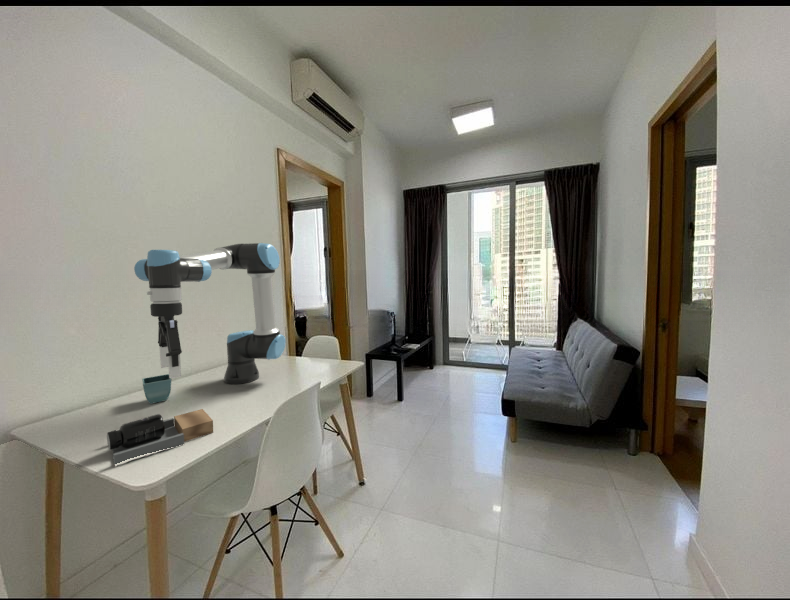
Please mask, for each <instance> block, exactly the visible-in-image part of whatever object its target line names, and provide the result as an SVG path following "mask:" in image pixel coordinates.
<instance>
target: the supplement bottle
mask: <svg viewBox="0 0 790 600" xmlns="http://www.w3.org/2000/svg"><path fill="white" fill-rule="evenodd" d="M163 420H164V418H163V416H162V415H161V414H160V413H157V414H154V415H150V416H147V417H143V418H140V419H136V420H133V421H129V422H126V423H123V424H122V425H120V426H119V429H113V430H111V431H108V432H106V442H107V447H108V450H109V451H112V449H115V448H119V446H122V447H124V448H129V447H132V446H135V445H138V444H141V443H144V442H147V441H150V440H153V439H156V438H159V437H161V436H163V435H164V432H165V427H164V421H163Z"/></svg>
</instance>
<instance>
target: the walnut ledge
mask: <svg viewBox="0 0 790 600" xmlns="http://www.w3.org/2000/svg"><path fill="white" fill-rule="evenodd" d="M173 418H174V426H175V428H176V430H177V431H178V433H179V434H181V433H183V434H184V443H185V442H188V441H191V440H195V439H197V438H200V437H204V436H206V435H210V434H213V433H214V420H213V419H212V417H211V416H209V414H208V413H207V412H206V411H205V410H204V409H203V408H200V409H197V410H193V411H190V412H186V413H181V414H178V415H175V416H174V415H173Z"/></svg>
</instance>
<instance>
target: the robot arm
mask: <svg viewBox="0 0 790 600" xmlns="http://www.w3.org/2000/svg"><path fill="white" fill-rule="evenodd" d="M146 255H147V257H146V258H142V259H139V260H137V262H136V263H135V265H134V268H133V269H134V274H135V276H136V277H137V278H138V279H139V280H140V281H144V282H148V288H149V291H147V292H146V295H148V296H149V302H150V303H151V302H152V303H151V304H149V305H150V307H149V308H150V315H151V316H152V317H154V318H155V317H156V318H157V319H158V323H157V325H158V335H157V336H158V337H157V343H158V346H159V357H160V359H159V362H160V369H165V368H168V374H169V378H171V379H174V378H180V377H182V366H181V354H182V352H183V350H182V348H181V341H180V334H179V327H178V323H179V322H178V320H177V319H176V320H175V316H181V315H182V314H183V304H182V303H181V301H182V300H183V299H182V297H183V296H182V285H181V283H184V282H189V283H191V282H193V283H194V282H195V283H197V282H198V283H200V282H205V281H207V280H208V279H210V277H211V276H212V271H214V270H217V269H218V270H225V271H226V270H229V269H230V270H246V272H247V274H246V275H248V276H250V279H251V287H252V299H253V300H252V301H253V308H254V320H255V321H254V322H255V329H254V330H253V329H250V330H242V331H237V332H232V333H229V334H228V336H227V337H226V351H227V352H226V353H227V355H226V356H227V366H226V370H225V372H224V373H225V374H224V376H223V382H224V383H225V384H228V385H229V384H231V385H236V384H237V385H241V384H246V383H250V382H254V381H256V380H258V379H259V378H260V371H259V369H258V367H257V364H256V361H255V360H256V359H258V360H268V361H269V360H277V359H279V358H280V357H281V356H282V355H283V353H284V351H285V348H286V343H287V342H286V337H285V336H284V335H283V334H281V332H280V331H281V330H280V328H278V326H277V323H276V311H275V300H274V287H273V276H274V275H275V274H276V270H277V269H278V268H279V266H280V256H279V252H278V250H277V248H275V245H273V244H270V243H263V242H259V243H257V242H255V243H235V244H230V245H227V246H226V245H225V246H221V247H220V246H219V247H217V248H214V249H213V250H209V251H202V252H194V253H187V254H182V255H181V254H179V251H177V250H173V249H172V250H171V249H151V250H149V251H148V252H147V254H146Z"/></svg>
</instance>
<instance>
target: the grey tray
mask: <svg viewBox="0 0 790 600" xmlns="http://www.w3.org/2000/svg"><path fill="white" fill-rule="evenodd" d="M163 421H164V427H165V432H164V435H163V436H161V437H159V438H156V439H153V440H150V441H147V442H144V443H141V444H138V445H135V446H132V447H129V448H124V447H122V446H119V448H115V449H112V450H111V452H112V458H113V459H114V460H113V459H112V460H113V465H114V464H117V463H120V462H122V461H125V460H127V459H130V458H134V457H137V456H140V455H144V454H147V453H152V452H156V451H159V450H163V449H167V448H171V447H174V448H177V447H176V446H178V447H180V446H179V445H181V446H183V444H184V445H185V442H184V434H183V433H181V434H179V433H178V431H177V430H176V428H175V426H174V417H171V418H167V419H163ZM171 449H172V448H171Z"/></svg>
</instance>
